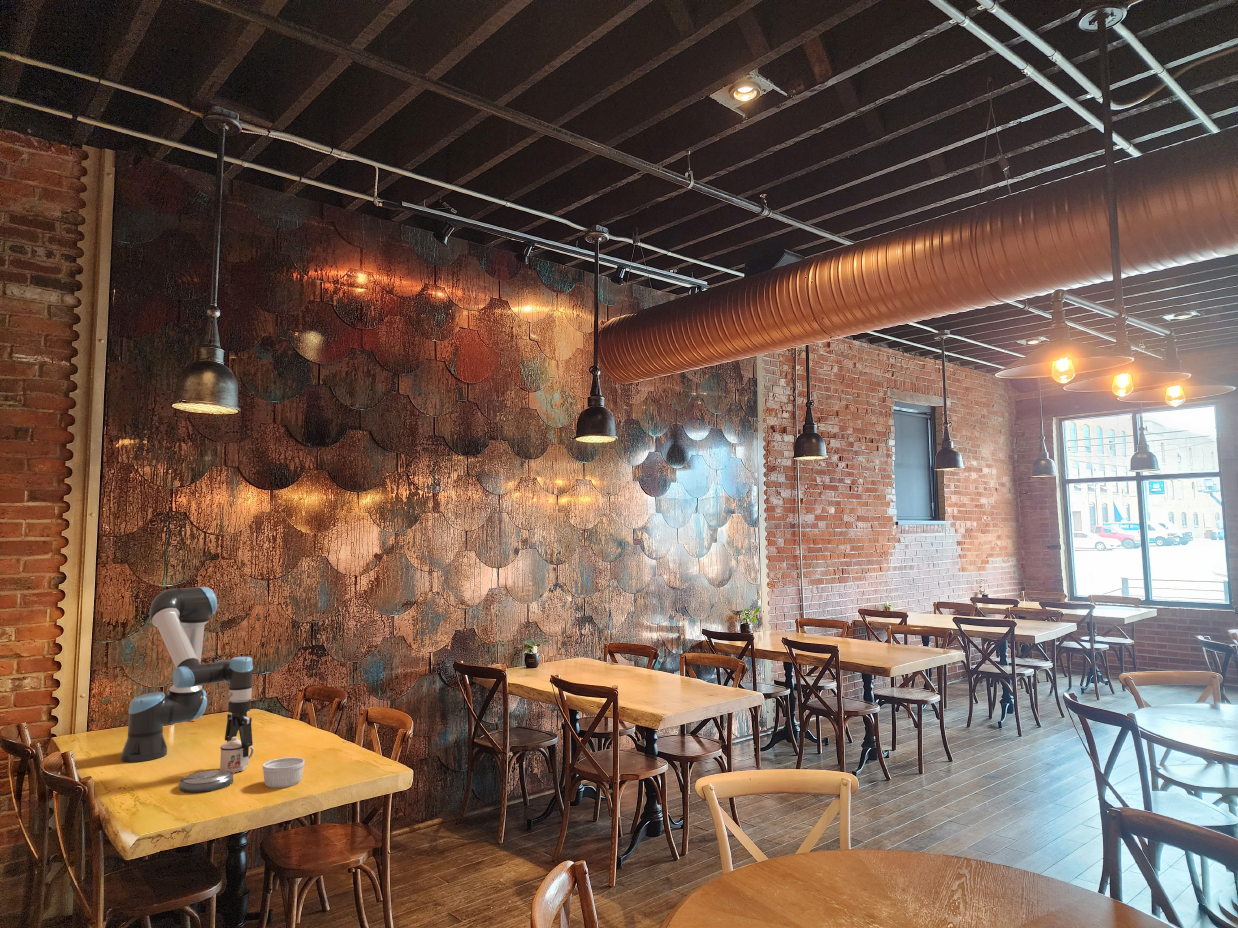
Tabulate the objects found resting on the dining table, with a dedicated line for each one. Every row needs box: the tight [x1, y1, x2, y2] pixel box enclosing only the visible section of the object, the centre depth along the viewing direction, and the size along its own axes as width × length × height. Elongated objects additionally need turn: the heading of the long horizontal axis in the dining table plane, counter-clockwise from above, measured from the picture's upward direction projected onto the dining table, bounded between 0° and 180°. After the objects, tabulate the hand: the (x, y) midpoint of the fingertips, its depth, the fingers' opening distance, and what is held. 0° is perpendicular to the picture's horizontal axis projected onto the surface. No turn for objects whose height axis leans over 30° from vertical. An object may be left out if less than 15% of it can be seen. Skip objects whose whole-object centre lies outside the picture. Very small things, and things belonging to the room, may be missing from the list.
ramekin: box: [262, 756, 306, 789], centre depth 259 cm, size 13×13×7 cm
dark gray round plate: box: [179, 769, 234, 794], centre depth 257 cm, size 16×16×3 cm
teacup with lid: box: [219, 736, 255, 774], centre depth 275 cm, size 12×9×12 cm
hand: (237, 763), depth 275 cm, fingers closed on teacup with lid, 9 cm apart
